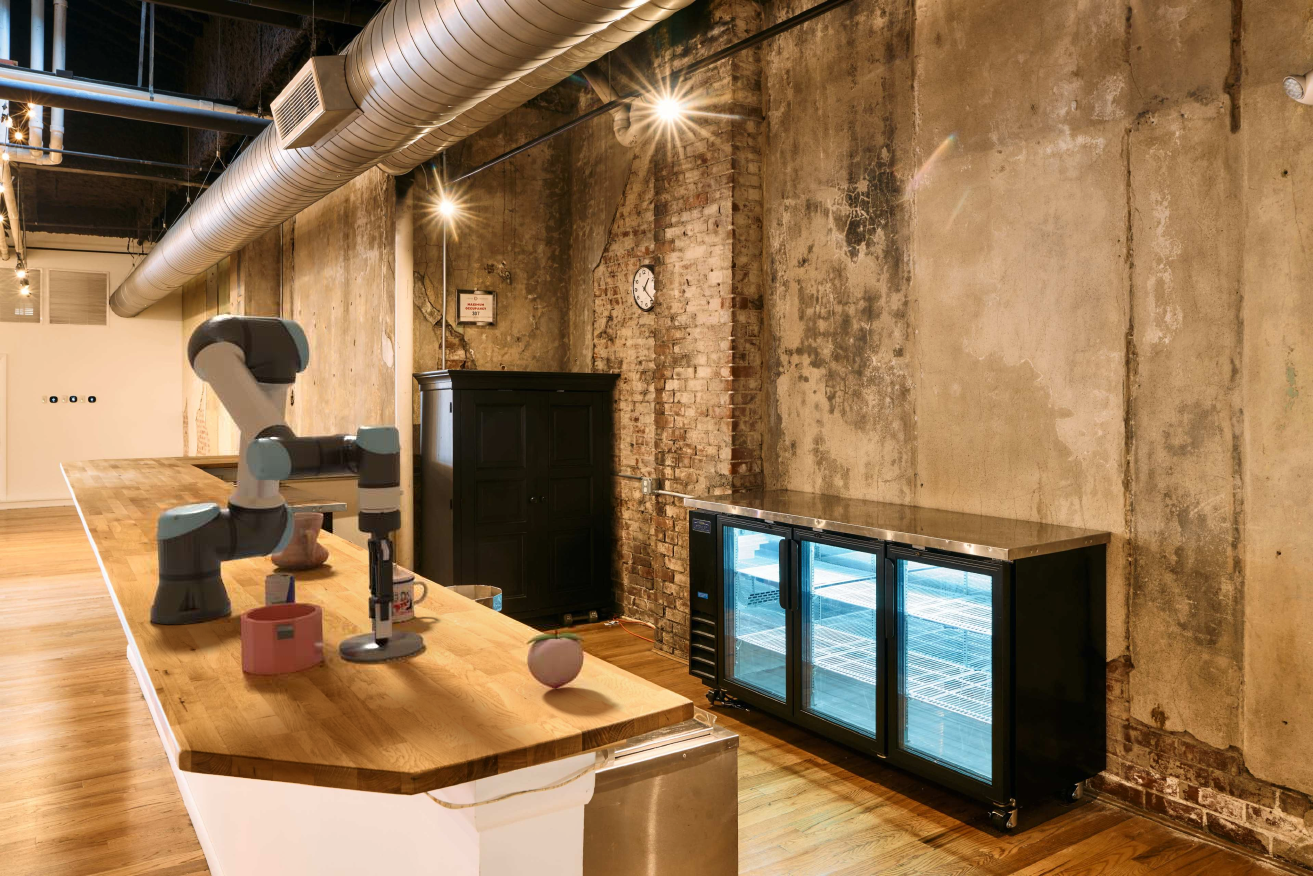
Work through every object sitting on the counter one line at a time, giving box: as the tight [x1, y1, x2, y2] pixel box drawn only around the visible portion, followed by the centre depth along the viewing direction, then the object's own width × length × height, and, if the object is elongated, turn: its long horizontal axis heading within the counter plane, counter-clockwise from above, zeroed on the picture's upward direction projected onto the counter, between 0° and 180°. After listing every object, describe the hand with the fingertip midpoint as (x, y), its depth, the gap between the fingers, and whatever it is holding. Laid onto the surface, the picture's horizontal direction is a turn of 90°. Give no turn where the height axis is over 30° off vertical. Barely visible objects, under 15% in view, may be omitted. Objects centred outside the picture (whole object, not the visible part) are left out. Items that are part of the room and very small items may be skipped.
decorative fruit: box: [526, 627, 586, 689], centre depth 138 cm, size 9×8×10 cm
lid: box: [338, 595, 424, 663], centre depth 159 cm, size 15×15×10 cm
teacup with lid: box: [370, 562, 429, 624], centre depth 181 cm, size 12×9×12 cm
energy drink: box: [264, 572, 296, 606], centre depth 167 cm, size 5×5×12 cm
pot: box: [240, 601, 324, 676], centre depth 151 cm, size 21×13×9 cm, turn 27°
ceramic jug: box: [270, 512, 330, 570], centre depth 230 cm, size 18×14×14 cm
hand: (381, 633), depth 159 cm, fingers closed on lid, 4 cm apart
